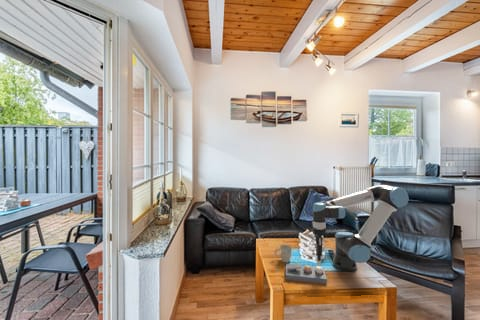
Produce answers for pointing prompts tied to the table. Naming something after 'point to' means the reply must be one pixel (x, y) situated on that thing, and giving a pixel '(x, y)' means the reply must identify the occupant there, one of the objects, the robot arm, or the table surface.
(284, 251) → the mug
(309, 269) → the button terracotta
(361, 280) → the table surface
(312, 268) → the panel
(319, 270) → the button cream
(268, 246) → the table surface
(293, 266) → the rocker
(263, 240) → the table surface
